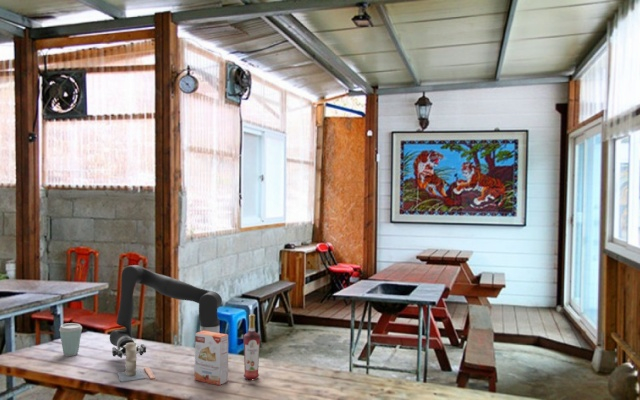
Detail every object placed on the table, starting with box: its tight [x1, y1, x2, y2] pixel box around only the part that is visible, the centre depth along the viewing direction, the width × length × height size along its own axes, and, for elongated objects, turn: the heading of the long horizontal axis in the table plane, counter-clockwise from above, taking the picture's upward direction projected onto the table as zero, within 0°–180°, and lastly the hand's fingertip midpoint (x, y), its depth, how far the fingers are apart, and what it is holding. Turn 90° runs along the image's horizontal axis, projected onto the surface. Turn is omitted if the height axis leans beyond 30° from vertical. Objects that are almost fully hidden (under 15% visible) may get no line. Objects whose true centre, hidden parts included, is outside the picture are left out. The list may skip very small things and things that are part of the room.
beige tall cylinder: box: [125, 341, 137, 377], centre depth 236 cm, size 4×4×14 cm
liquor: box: [243, 314, 261, 381], centre depth 235 cm, size 7×7×28 cm
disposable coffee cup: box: [58, 322, 83, 357], centre depth 268 cm, size 11×11×15 cm
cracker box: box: [194, 331, 229, 386], centre depth 231 cm, size 14×6×21 cm, turn 62°
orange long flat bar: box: [143, 366, 156, 380], centre depth 240 cm, size 2×16×1 cm, turn 28°
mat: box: [116, 369, 146, 383], centre depth 236 cm, size 10×12×1 cm
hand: (131, 354), depth 235 cm, fingers open, 8 cm apart
